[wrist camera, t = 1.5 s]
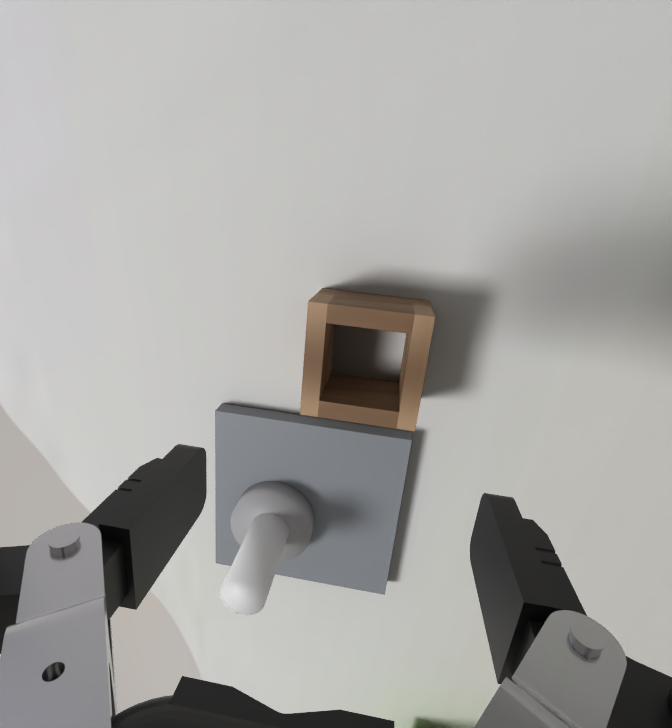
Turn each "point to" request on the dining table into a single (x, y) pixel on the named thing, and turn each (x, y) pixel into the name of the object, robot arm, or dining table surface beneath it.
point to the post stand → (304, 501)
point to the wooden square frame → (358, 394)
